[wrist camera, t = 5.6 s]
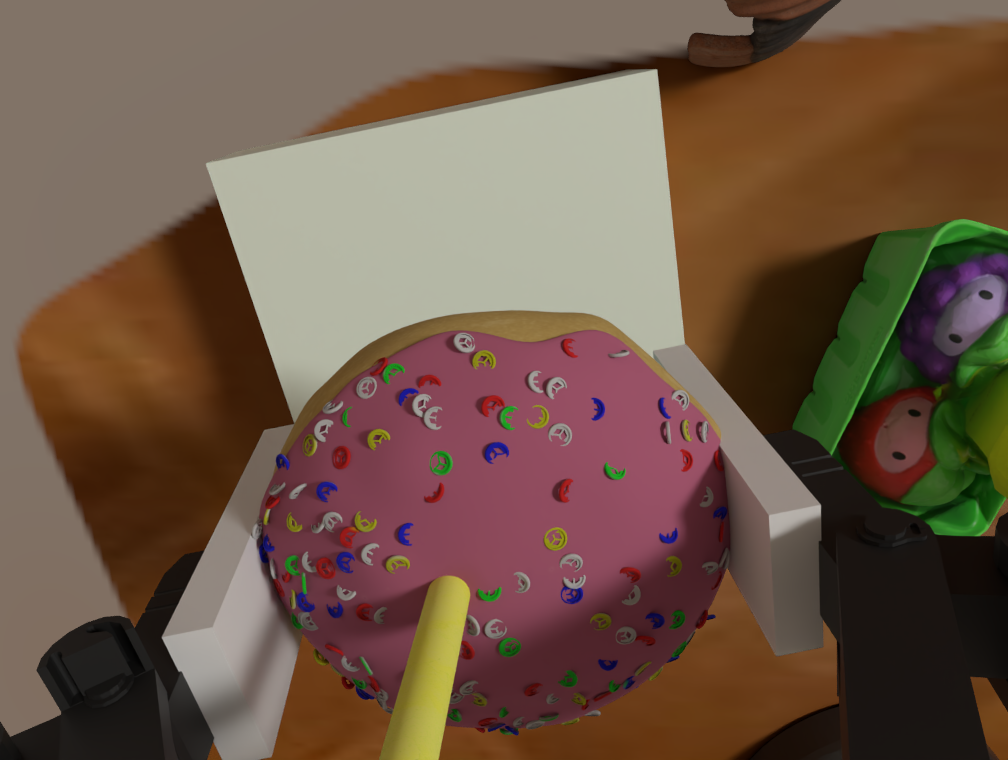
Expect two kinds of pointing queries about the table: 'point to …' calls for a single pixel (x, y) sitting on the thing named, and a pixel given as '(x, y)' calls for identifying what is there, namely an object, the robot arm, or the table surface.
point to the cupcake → (497, 522)
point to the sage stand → (458, 222)
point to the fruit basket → (923, 377)
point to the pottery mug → (758, 31)
